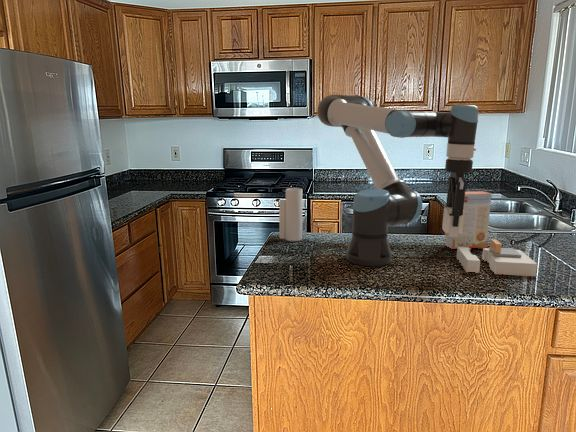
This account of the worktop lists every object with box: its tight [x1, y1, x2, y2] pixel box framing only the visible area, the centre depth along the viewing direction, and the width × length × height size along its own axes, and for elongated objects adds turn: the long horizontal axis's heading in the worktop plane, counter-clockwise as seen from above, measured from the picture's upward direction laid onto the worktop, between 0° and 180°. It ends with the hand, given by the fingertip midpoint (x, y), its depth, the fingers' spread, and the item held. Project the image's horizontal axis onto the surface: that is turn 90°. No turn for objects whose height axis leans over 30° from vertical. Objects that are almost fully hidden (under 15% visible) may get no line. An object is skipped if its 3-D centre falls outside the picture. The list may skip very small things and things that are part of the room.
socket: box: [456, 247, 538, 277], centre depth 140 cm, size 20×15×4 cm
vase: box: [278, 187, 303, 242], centre depth 172 cm, size 11×7×20 cm, turn 40°
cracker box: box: [444, 190, 492, 250], centre depth 160 cm, size 14×6×21 cm, turn 100°
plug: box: [441, 206, 465, 237], centre depth 133 cm, size 5×5×8 cm
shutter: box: [488, 238, 521, 257], centre depth 141 cm, size 8×8×4 cm
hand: (451, 233), depth 134 cm, fingers closed on plug, 5 cm apart
